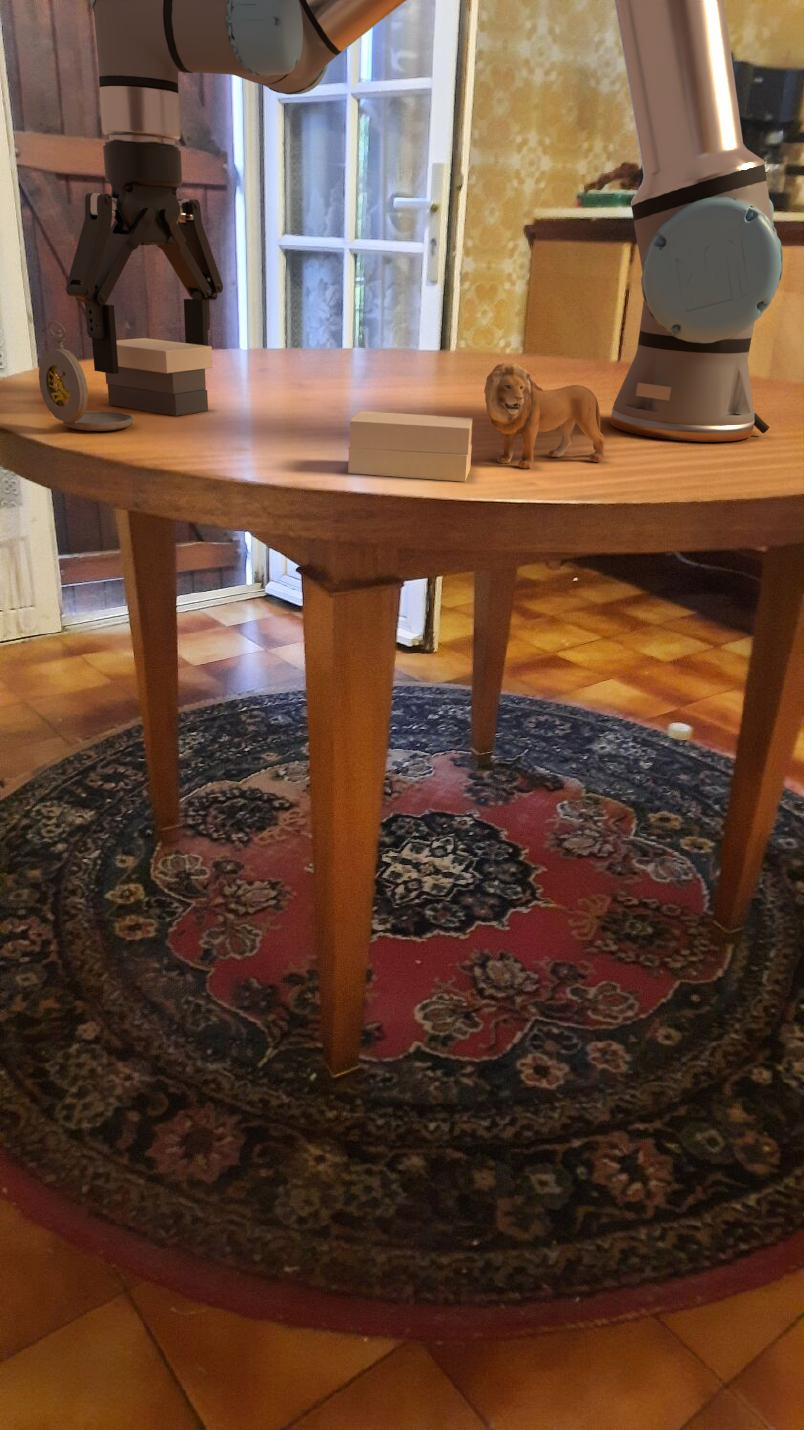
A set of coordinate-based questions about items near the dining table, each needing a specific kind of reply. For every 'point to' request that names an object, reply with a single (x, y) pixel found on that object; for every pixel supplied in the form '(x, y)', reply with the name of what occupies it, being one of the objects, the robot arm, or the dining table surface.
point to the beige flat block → (163, 355)
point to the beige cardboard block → (410, 446)
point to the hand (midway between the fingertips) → (154, 367)
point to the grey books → (158, 391)
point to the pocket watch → (72, 391)
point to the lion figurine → (539, 412)
